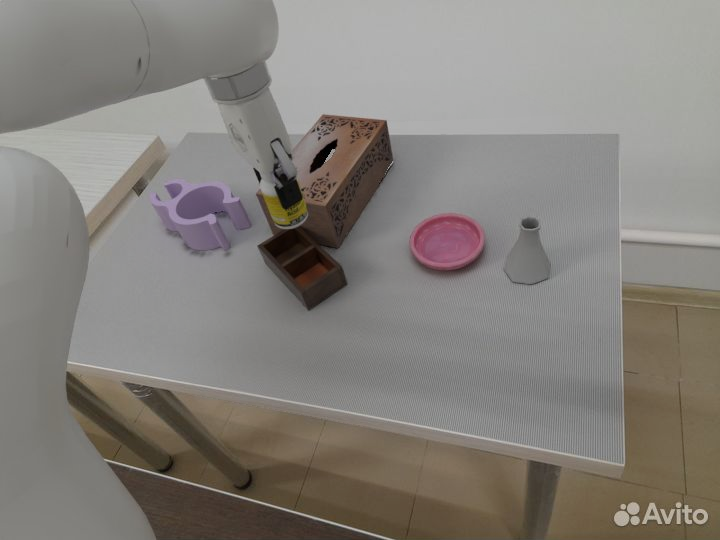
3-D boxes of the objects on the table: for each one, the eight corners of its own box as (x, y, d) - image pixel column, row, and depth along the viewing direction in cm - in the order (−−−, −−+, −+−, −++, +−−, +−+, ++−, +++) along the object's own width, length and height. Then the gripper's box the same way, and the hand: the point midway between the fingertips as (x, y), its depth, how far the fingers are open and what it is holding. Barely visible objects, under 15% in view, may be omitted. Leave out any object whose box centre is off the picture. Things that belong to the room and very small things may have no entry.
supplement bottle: (294, 234, 76) (274, 181, 69) (267, 225, 78) (244, 172, 71) (316, 211, 78) (298, 157, 71) (289, 202, 81) (269, 150, 74)
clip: (151, 232, 108) (135, 207, 103) (192, 195, 115) (178, 170, 110) (219, 259, 99) (204, 233, 94) (260, 217, 105) (248, 190, 100)
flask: (555, 282, 81) (561, 236, 73) (507, 287, 82) (509, 243, 74) (545, 249, 86) (550, 203, 78) (500, 254, 87) (500, 209, 79)
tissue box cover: (333, 154, 115) (323, 114, 107) (393, 162, 109) (386, 120, 101) (272, 234, 100) (255, 193, 93) (338, 248, 94) (325, 206, 87)
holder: (308, 311, 86) (301, 293, 83) (265, 263, 96) (257, 245, 93) (347, 284, 89) (342, 266, 85) (301, 240, 98) (294, 222, 95)
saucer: (456, 289, 83) (455, 276, 81) (397, 258, 90) (394, 245, 88) (499, 242, 88) (499, 228, 86) (440, 216, 95) (439, 203, 93)
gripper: (183, 69, 66) (234, 182, 79) (241, 115, 56) (289, 236, 69) (234, 45, 68) (275, 158, 82) (300, 84, 58) (336, 208, 71)
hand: (281, 193), depth 75 cm, fingers closed on supplement bottle, 5 cm apart
